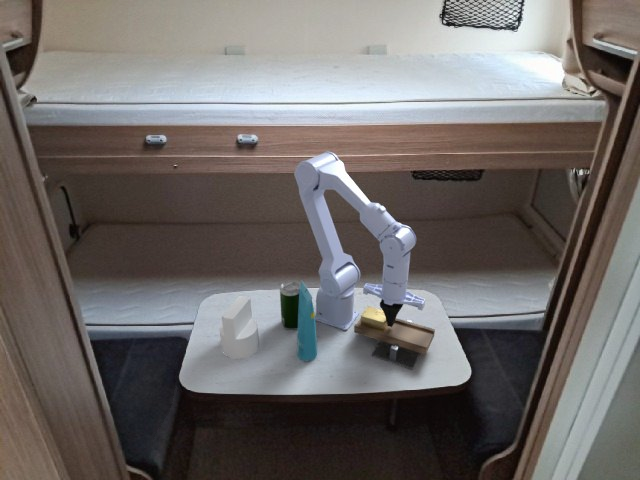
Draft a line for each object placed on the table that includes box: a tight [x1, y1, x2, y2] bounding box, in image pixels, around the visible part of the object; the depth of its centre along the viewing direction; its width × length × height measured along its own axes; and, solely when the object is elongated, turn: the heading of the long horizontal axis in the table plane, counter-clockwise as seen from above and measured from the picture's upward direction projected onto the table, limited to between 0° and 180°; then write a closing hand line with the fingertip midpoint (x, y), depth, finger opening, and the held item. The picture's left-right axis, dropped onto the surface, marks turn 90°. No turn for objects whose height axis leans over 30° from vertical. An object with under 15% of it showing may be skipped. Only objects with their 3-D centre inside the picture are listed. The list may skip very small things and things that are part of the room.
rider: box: [360, 305, 387, 332], centre depth 116 cm, size 6×4×3 cm
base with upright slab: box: [218, 295, 260, 360], centre depth 113 cm, size 9×9×12 cm
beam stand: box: [371, 319, 421, 371], centre depth 115 cm, size 10×13×4 cm
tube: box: [296, 279, 318, 362], centre depth 109 cm, size 7×5×19 cm, turn 26°
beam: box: [353, 317, 436, 355], centre depth 115 cm, size 18×8×3 cm, turn 63°
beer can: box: [279, 280, 301, 331], centre depth 120 cm, size 5×5×12 cm
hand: (390, 324), depth 114 cm, fingers closed
